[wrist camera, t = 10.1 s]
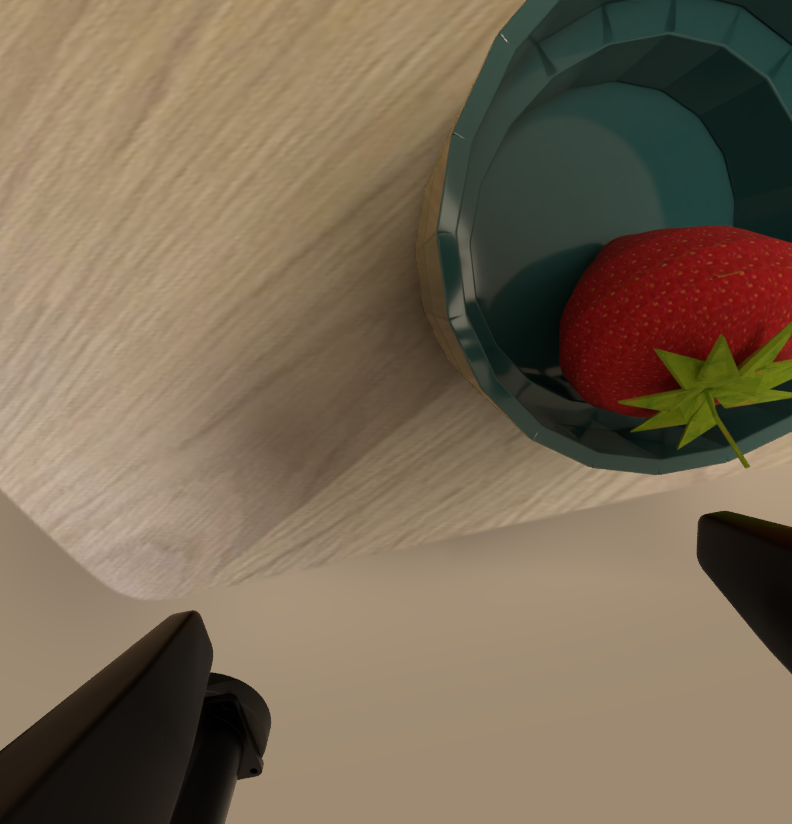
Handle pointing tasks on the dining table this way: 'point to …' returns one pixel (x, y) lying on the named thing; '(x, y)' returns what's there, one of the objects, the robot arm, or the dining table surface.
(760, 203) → the teal pet bowl
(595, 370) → the strawberry
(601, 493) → the dining table surface
